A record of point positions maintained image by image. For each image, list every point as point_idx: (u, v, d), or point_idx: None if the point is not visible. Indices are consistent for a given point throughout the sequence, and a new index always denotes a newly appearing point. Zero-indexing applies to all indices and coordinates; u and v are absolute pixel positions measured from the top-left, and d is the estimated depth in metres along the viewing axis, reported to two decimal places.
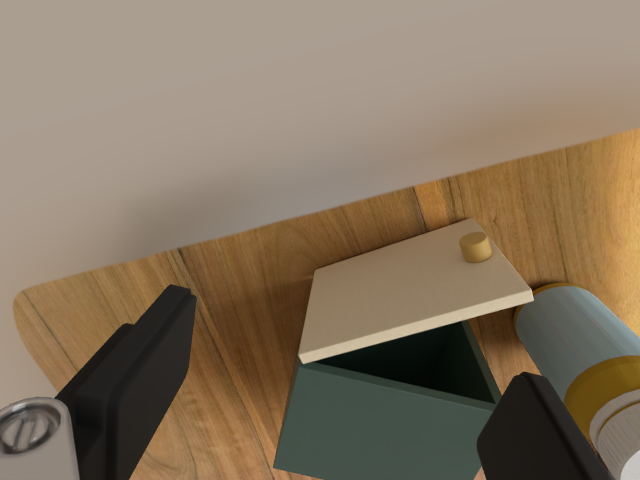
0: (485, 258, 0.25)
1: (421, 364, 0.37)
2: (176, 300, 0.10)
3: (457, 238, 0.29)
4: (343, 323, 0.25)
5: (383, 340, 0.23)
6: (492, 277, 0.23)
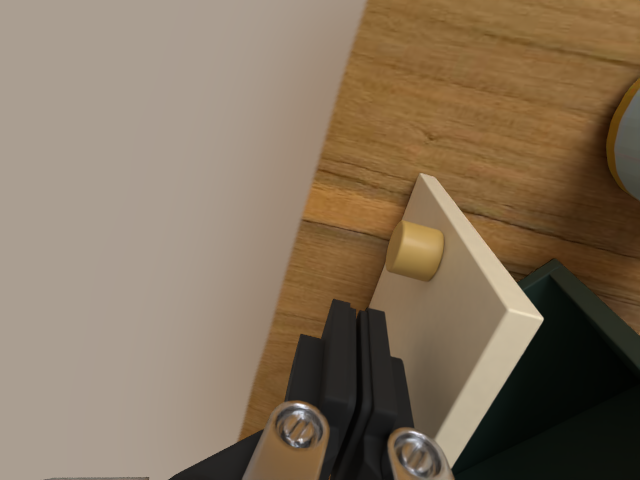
0: (437, 259, 0.12)
1: (589, 363, 0.21)
2: (346, 314, 0.11)
3: None
4: None
5: None
6: (455, 303, 0.10)
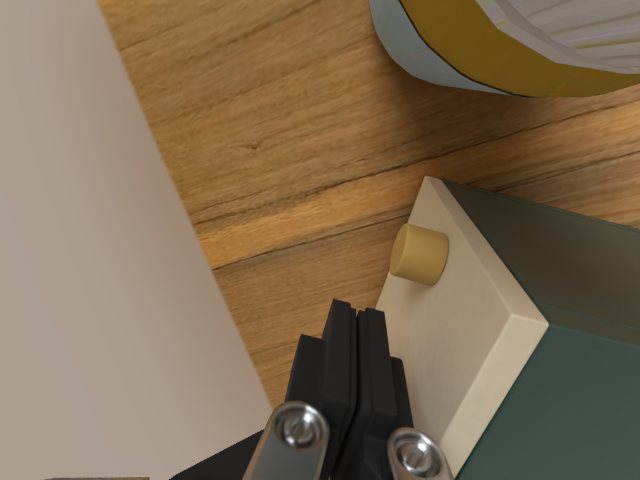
0: (441, 263, 0.12)
1: None
2: (347, 314, 0.11)
3: None
4: None
5: None
6: (459, 308, 0.10)
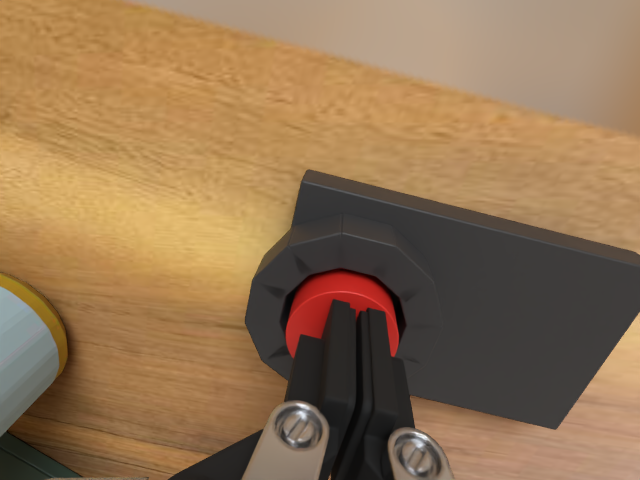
0: None
1: None
2: (346, 313, 0.11)
3: None
4: None
5: None
6: None
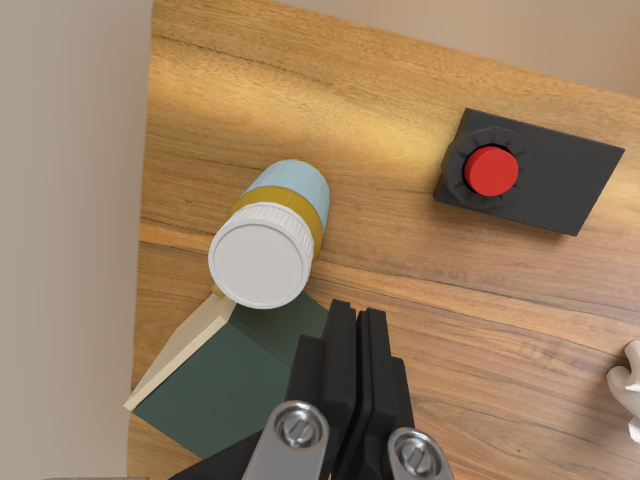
0: None
1: None
2: (346, 313, 0.11)
3: None
4: (151, 372, 0.34)
5: (162, 379, 0.32)
6: (217, 309, 0.31)
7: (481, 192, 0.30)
